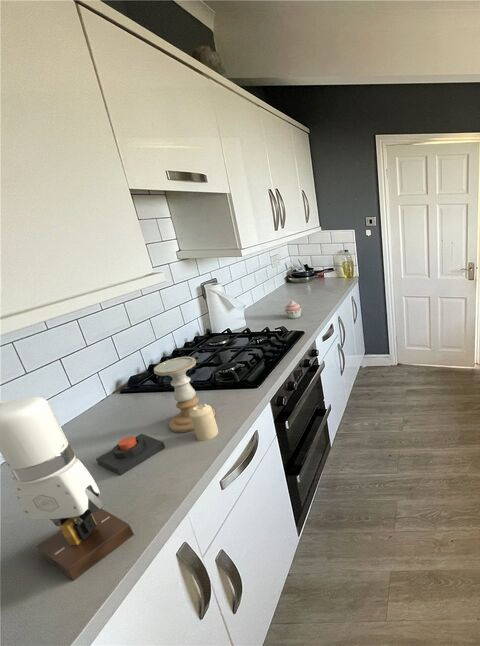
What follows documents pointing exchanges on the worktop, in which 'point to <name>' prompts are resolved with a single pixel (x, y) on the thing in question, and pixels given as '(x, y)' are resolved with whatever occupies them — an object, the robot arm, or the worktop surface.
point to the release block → (130, 455)
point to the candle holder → (180, 391)
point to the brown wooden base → (86, 545)
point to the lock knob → (70, 532)
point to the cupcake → (293, 310)
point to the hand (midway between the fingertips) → (82, 533)
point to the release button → (127, 443)
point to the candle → (203, 422)
